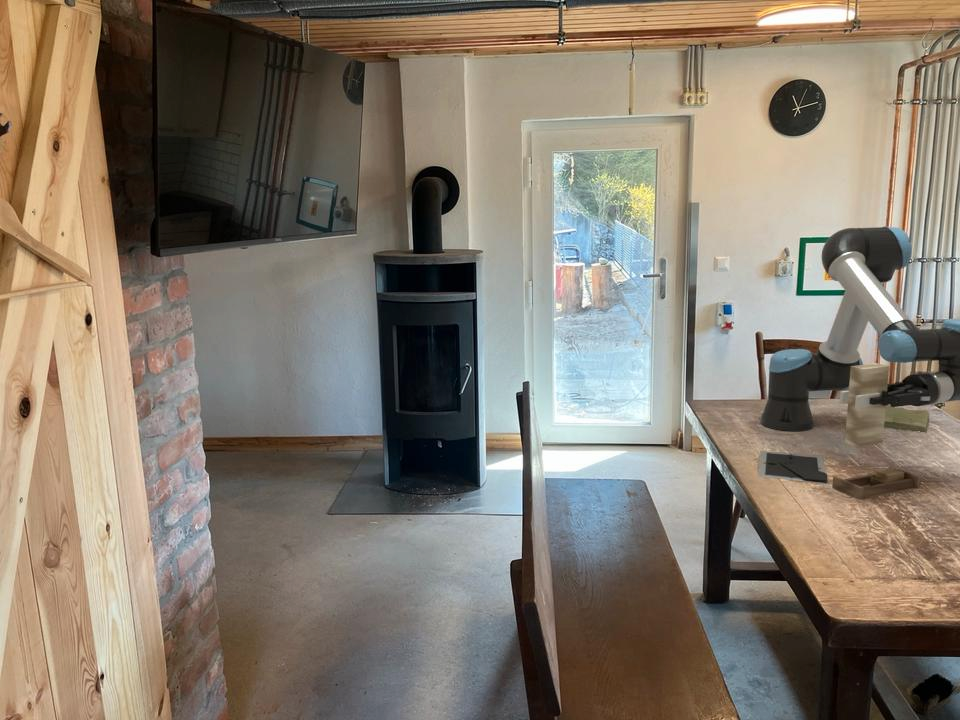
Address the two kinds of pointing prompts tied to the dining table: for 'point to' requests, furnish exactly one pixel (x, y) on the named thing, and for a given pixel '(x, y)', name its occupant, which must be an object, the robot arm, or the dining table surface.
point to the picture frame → (792, 467)
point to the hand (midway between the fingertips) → (849, 399)
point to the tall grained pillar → (866, 421)
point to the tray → (875, 485)
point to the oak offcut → (889, 475)
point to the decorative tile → (906, 419)
